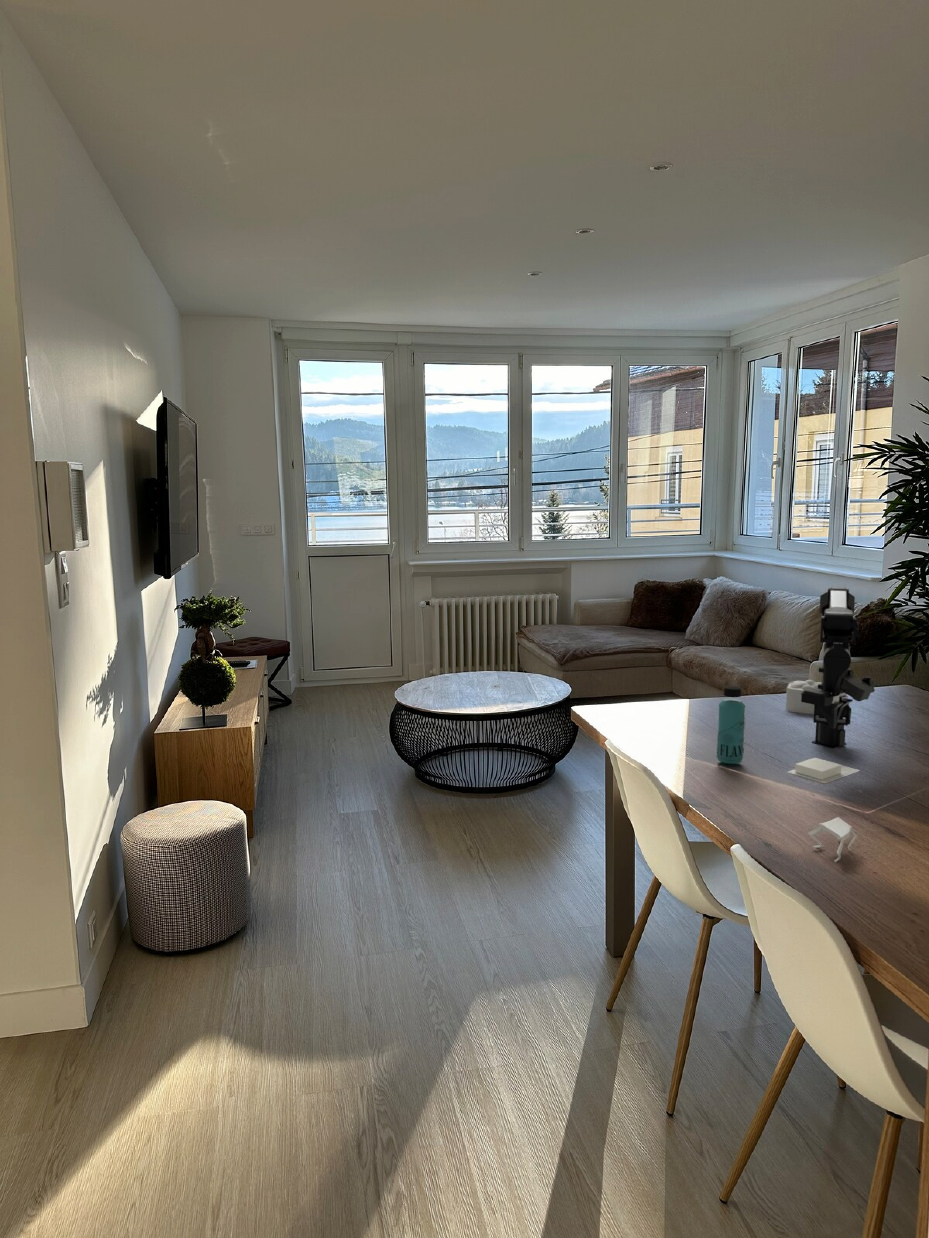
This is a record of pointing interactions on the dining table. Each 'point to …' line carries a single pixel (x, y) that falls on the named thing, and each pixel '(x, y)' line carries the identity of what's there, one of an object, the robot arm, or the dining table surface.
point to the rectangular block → (818, 768)
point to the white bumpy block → (799, 696)
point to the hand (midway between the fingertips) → (832, 727)
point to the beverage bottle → (731, 727)
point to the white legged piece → (835, 833)
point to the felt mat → (844, 772)
